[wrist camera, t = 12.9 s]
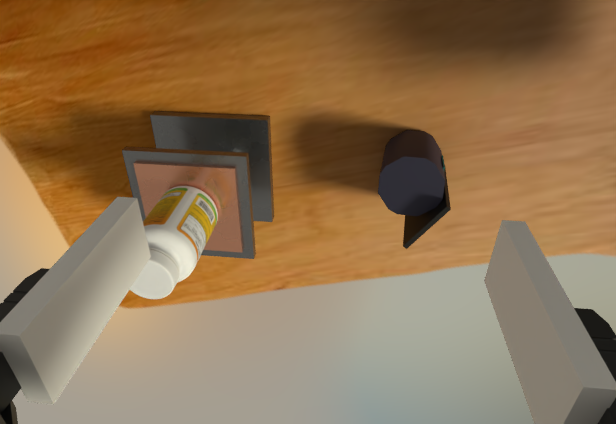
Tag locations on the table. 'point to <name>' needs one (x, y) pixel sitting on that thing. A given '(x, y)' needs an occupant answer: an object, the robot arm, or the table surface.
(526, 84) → the table surface
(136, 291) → the supplement bottle
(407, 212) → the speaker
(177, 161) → the stand
